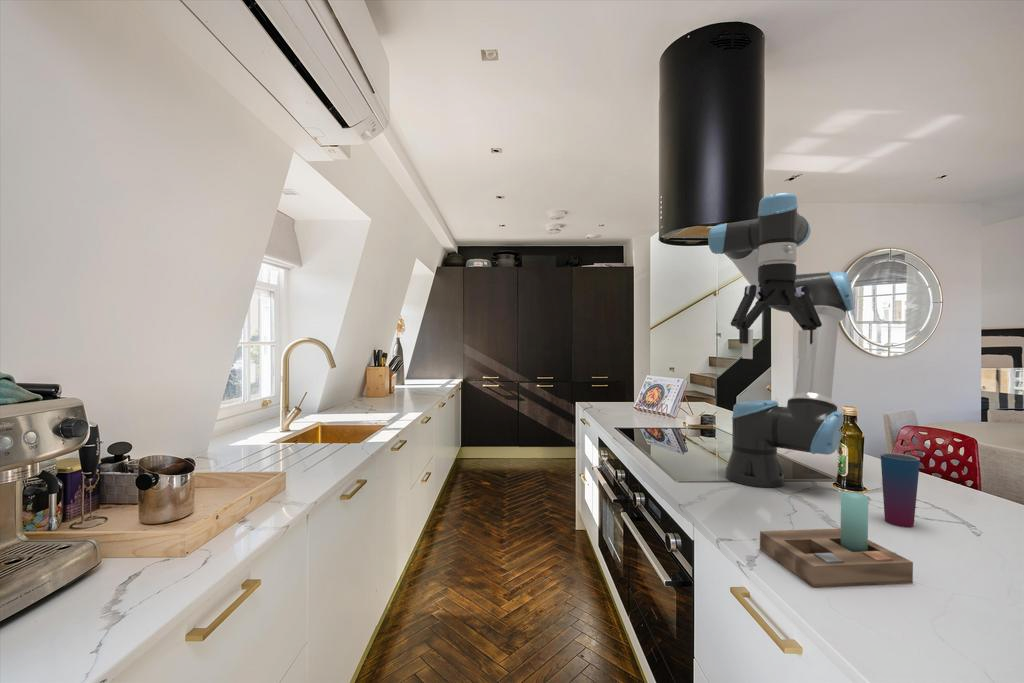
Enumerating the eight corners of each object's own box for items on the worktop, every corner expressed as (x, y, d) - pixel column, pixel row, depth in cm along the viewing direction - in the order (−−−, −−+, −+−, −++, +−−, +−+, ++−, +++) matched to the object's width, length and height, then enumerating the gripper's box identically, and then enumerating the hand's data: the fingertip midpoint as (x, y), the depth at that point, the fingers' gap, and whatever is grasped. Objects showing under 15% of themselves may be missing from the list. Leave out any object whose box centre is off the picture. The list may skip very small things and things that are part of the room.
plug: (834, 556, 86) (835, 492, 86) (854, 555, 87) (855, 491, 87) (852, 566, 82) (853, 499, 82) (873, 565, 83) (874, 499, 83)
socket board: (759, 549, 90) (760, 529, 90) (845, 545, 92) (845, 526, 92) (813, 587, 76) (813, 564, 76) (912, 582, 78) (912, 560, 78)
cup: (926, 530, 100) (927, 461, 100) (890, 527, 101) (891, 459, 101) (906, 518, 107) (907, 453, 107) (873, 516, 108) (874, 451, 108)
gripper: (734, 260, 99) (733, 359, 99) (841, 263, 101) (840, 359, 102) (715, 265, 106) (714, 357, 107) (815, 268, 109) (814, 358, 109)
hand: (775, 359), depth 104 cm, fingers open, 13 cm apart
